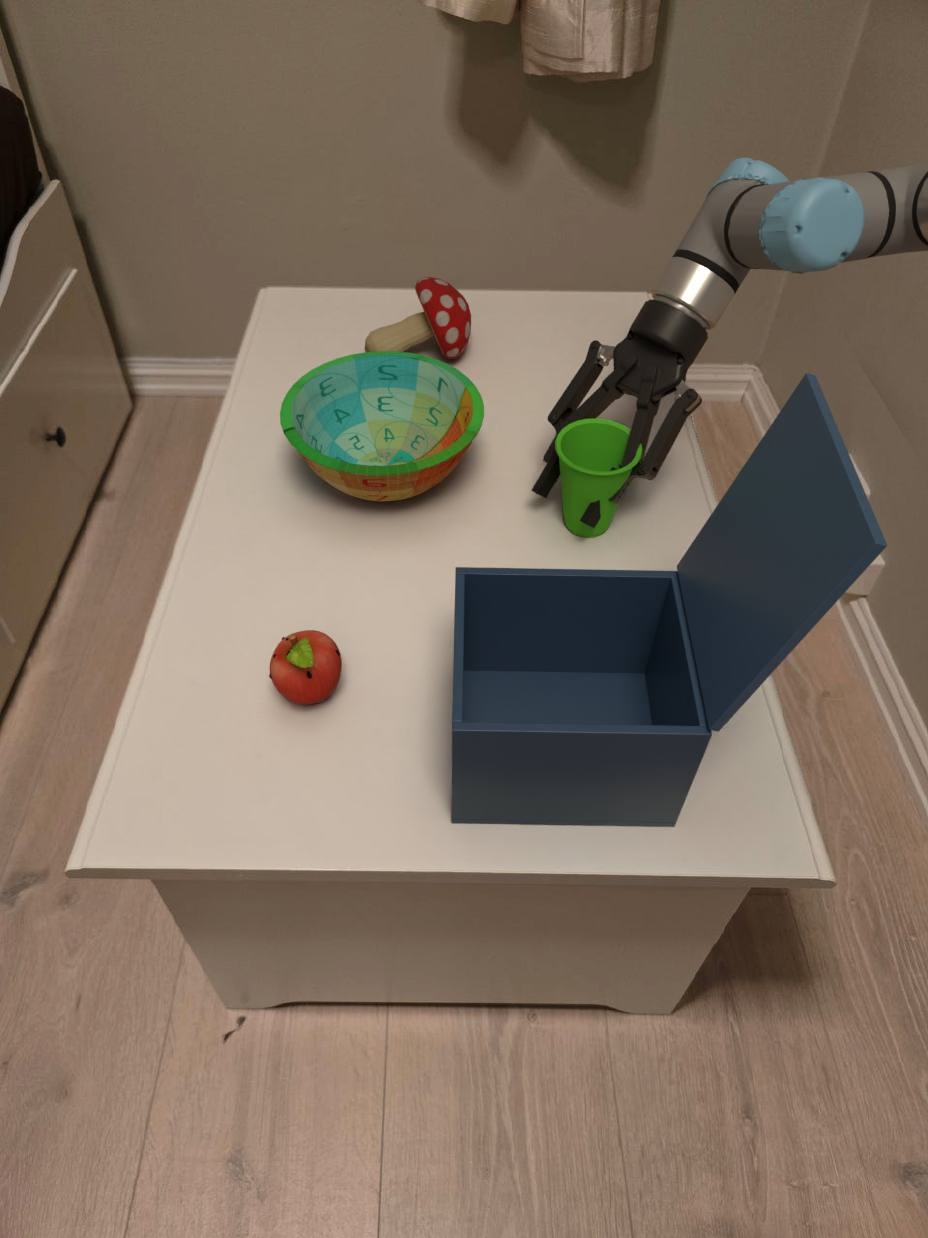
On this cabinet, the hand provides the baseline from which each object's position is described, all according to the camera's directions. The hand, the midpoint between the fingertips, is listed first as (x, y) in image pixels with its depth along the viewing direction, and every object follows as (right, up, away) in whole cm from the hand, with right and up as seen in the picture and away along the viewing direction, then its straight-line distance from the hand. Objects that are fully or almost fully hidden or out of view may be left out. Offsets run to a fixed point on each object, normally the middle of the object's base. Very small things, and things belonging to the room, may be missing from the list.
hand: (562, 508), depth 97 cm
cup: (+3, -1, +4) cm, 5 cm away
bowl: (-20, +5, +9) cm, 22 cm away
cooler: (-2, -23, -15) cm, 28 cm away
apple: (-25, -19, -12) cm, 34 cm away
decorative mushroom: (-17, +24, +26) cm, 39 cm away
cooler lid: (+10, -8, -34) cm, 36 cm away
